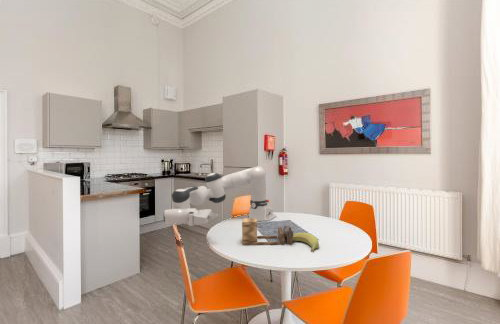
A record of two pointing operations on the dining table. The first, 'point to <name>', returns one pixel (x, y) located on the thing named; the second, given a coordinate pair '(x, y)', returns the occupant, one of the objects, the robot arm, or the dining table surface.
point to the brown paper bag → (249, 230)
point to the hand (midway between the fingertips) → (217, 215)
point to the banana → (307, 239)
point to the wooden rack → (281, 236)
